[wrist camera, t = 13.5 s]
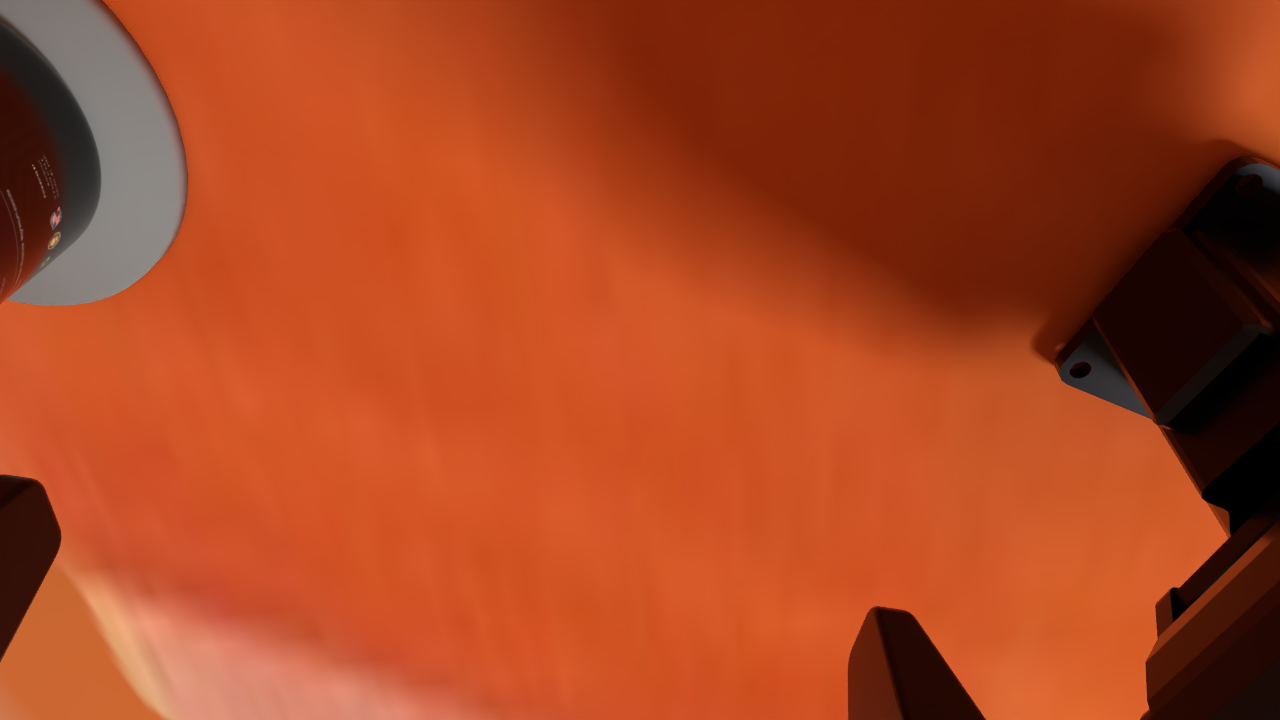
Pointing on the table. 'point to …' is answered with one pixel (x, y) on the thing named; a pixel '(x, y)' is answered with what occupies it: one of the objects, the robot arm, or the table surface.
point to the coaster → (108, 149)
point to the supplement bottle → (40, 164)
